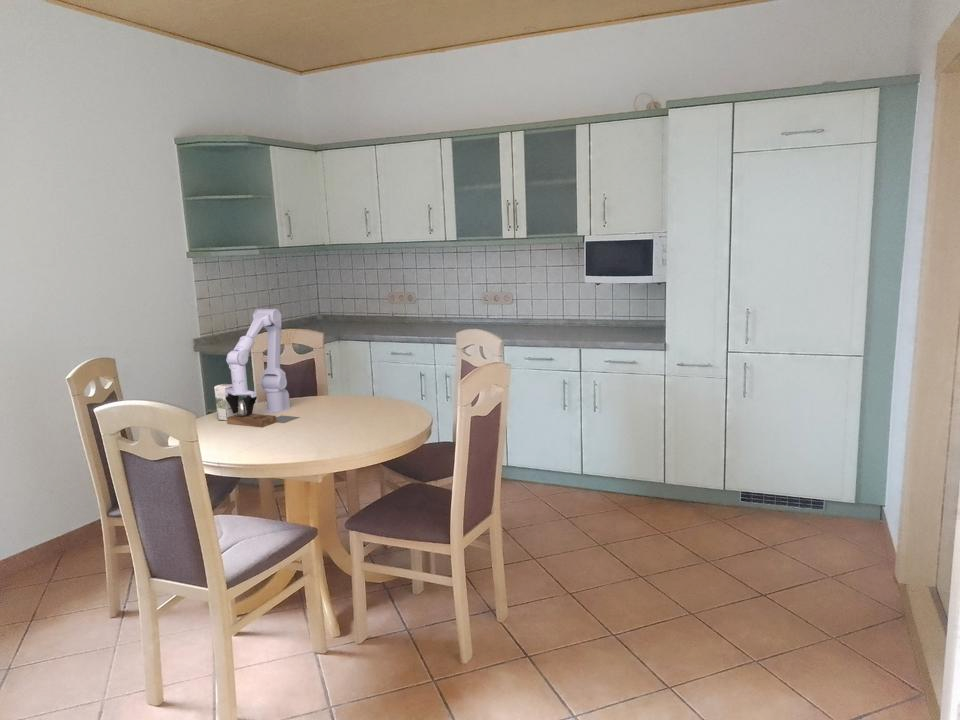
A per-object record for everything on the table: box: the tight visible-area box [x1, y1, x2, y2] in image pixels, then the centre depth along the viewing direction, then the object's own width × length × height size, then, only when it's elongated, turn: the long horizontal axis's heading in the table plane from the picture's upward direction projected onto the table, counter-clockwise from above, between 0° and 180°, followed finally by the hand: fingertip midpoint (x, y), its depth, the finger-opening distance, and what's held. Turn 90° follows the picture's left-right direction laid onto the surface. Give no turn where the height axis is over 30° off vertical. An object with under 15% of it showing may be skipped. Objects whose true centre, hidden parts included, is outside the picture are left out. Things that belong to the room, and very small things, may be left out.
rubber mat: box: [275, 415, 301, 424], centre depth 285 cm, size 10×10×1 cm
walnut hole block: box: [226, 413, 277, 429], centre depth 281 cm, size 8×18×3 cm, turn 65°
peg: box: [238, 399, 247, 418], centre depth 282 cm, size 3×3×9 cm
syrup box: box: [213, 383, 238, 422], centre depth 289 cm, size 6×6×14 cm
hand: (242, 413), depth 282 cm, fingers open, 7 cm apart
